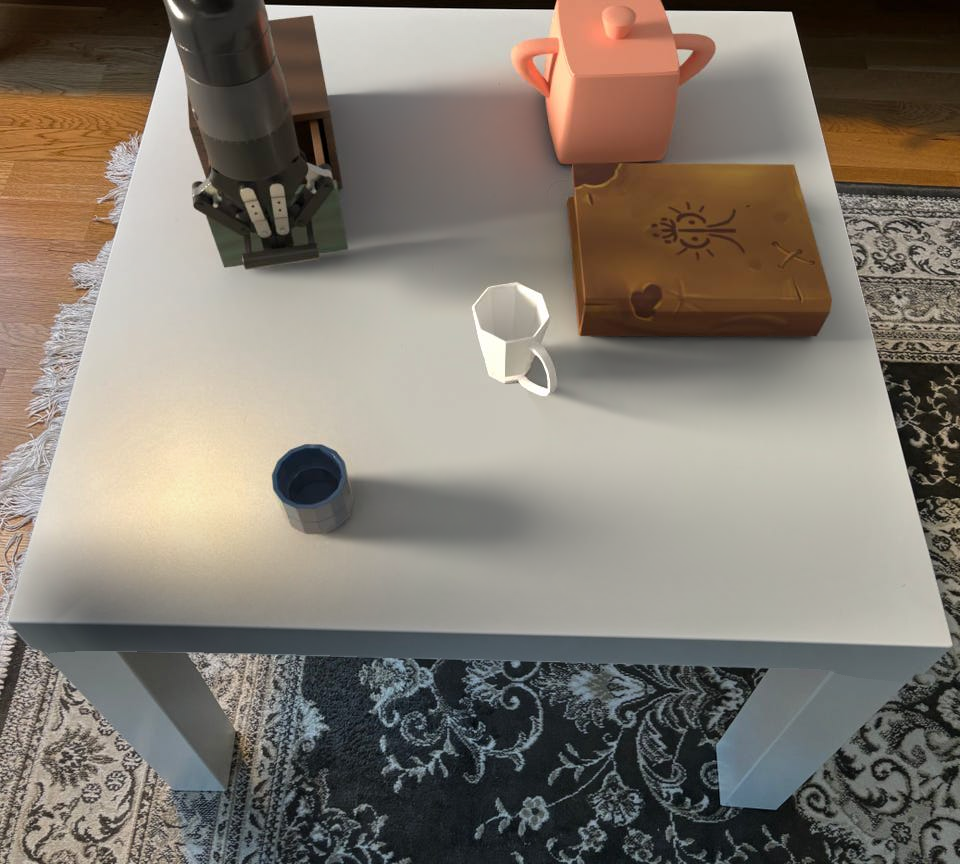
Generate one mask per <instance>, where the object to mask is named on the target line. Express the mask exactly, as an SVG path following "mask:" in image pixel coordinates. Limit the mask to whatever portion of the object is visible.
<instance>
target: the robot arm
mask: <svg viewBox="0 0 960 864" xmlns="http://www.w3.org/2000/svg"><path fill="white" fill-rule="evenodd" d="M162 2H163V3H164V7H165V11H166V14H167V18H168V23H169V26H170V30H171V31H170V32H171V34H172V37H173V40H174V44H175V47H176V50H177V53H178V56H179V59H180V62H181V65H182V69H183V73H184V78H185V85H186V92H187V91H188V95H189V99H190V102H191V110H192V113H193V115H194V118H195V119H196V120H197V123H198V127H199V130H200V133H201V136H202V139H203V142H204V145H205V148H206V151H207V154H208V158H209V161H210V165H209V169H208V172H209V177H208V178H207V179H206V178H205V180H204V181H201V180H196V181H194V182H192V184H191V196H192V198H191V199H192V206H193V209H195V210H196V211H198V212H199V213H201V214H203V215H205V217H206V216H208V217H210V218H212V219H213V220H215V221H217V222H218V223H220V224H222V225H223V226H225V227H227V228H229V229H230V230H232V231H234V232H235V233H237V234H239V235H241V236H247V235H249V234H250V232H251V233H256V234H258V235H259V236H260V238H261V241H262V245H263V248H264V250H271V249H278V248H284V247H291V246H294V240H293V236H292V232H291V229H292V228H293V227H295V226H297V227H305V226H306V225H307V224H308V223H309V221H310V220H311V219H312V217H313V216H314V215H315V213H316V212H317V211H318V209H319V208H320V207H321V205H322V204H323V203H324V201H325V200H326V199H327V197H328V196H329V195H330V193H331V192H332V191H333V189H334V183H333V177H332V171H331V167H330V165H328V164H325V163H324V164H320V165H319V166H318V167H317V166H315V165H312V164H310V163H307V157H306V155H305V154H304V153H303V152H302V151H301V150H300V149H299V147H298V142H297V137H296V133H295V128H294V123H293V118H292V113H291V109H290V104H289V97H288V93H287V89H286V85H285V80H284V76H283V72H282V69H281V67H280V64H279V61H278V59H277V56H276V52H275V49H274V44H273V39H272V35H271V30H270V25H269V20H270V19H269V16H268V12H267V8H266V4H265V1H264V0H162ZM304 179H305V182H306V184H305V185H304V187H303V188H302V190H301V191H300V192H299V194H298V195H297V197H296V198H295V199H294V201H293V202H292V206H289V207H286V202H287V201H289V200H290V199H291V198H292V197H293V195H294V194H295V192H296V191H297V189H298V188H299V186H300V185H301V183H302V182H303V180H304ZM222 193H223V194H224V195H223V194H222ZM225 195H226V196H227V197H226V196H225ZM228 197H229V198H230V199H229V198H228ZM231 199H232V200H231ZM234 201H235V202H234ZM242 206H244V207H246V208H247V209H246V208H244V207H242ZM266 206H272V207H273V213H274V222H273V219H272V220H271V219H270V216H269V213H268V210H267V207H266Z"/></svg>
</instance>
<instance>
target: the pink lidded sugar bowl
mask: <svg viewBox="0 0 960 864" xmlns="http://www.w3.org/2000/svg"><path fill="white" fill-rule="evenodd" d="M551 21H552V22H551V25H550V30H549V35H548V37H539V38H531V39H527V40H523V41H521V42H518V43H517V44H516V45H514V46H513V47H512V49H511V51H510V52H511V53H510V59H511V63H512V65H513V67H514V69H515V70H516V72H517V73H518V74H519V75H520V77H521V78H522V79H523V80H524V81H526V83H528V84H529V85H530V86H531V87H533V88H534V89H535V90H537V91H538V92H539V93H540V94H541V95H543V96H544V97H545V98H544V99H545V107H546V116H547V122H548V128H549V133H550V137H551V141H552V145H553V149H554V152H555V156H556V158H557V160H558V162H559V163H560V164H562V165H572V164H573V163H641V162H655V161H661V160H663V158H664V156H665V154H666V153H667V150H668V147H669V144H670V142H671V139H672V134H673V128H674V123H675V118H676V111H677V104H678V93H679V88H680V87H682V86H683V85H684V84H686V83H687V82H689V81H690V80H691V79H692V78H694V77H695V76H696V75H698V74H699V73H700V72H701V71H702V70H703V69H705V68H706V66H707V65H708V64H709V63H710V62H711V61H712V59H713V57H714V55H715V54H716V49H717V47H716V42H715V41H714V40H713V39H712V38H711V37H709V36H707V35H704V34H699V33H687V32H685V33H684V32H683V33H673V30H672V28H671V24H670V21H669V18H668V16H667V13H666V10H665V7H664V5H663V2H662V0H556V2H555V6H554V10H553V15H552V20H551ZM677 50H687V51H692V52H691V54H690V55H689V56H688V57H687V59H686V60H685V61H684V62H683V63H682V64H681V65H680V60H679V54H678V51H677ZM541 55H542V56H543V55H545V63H544V76H543V75H542V73H541V72H540V71H539V70H538V69H539V68H537V66H536V64H535V63H534V60H533V59H534V58H535V57H537V56H541Z"/></svg>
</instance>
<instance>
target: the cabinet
mask: <svg viewBox="0 0 960 864" xmlns="http://www.w3.org/2000/svg"><path fill="white" fill-rule="evenodd" d="M268 20H269V25H270V30H271V35H272V39H273V44H274V49H275V52H276V56H277V59H278V61H279V64H280V67H281V69H282V72H283V76H284V80H285V85H286V89H287V93H288V97H289V104H290V109H291V113H292V118H293V122H299V121H306V120H314V119H318V124H319V130H320V135H321V141H322V146H323V152H324V158H325V164H328V165H330V167H331V171H332V177H333V180H336V182H337V188H338V189H343V187H344V186H343V180H342V175H341V169H340V161H339V156H338V151H337V150H338V149H337V144H336V138H335V131H334V126H333V120H332V113H331V109H330V107H331V106H330V101H329V97H328V92H327V86H326V81H325V75H324V70H323V64H322V59H321V52H320V48H319V42H318V36H317V31H316V24H315V20H314V16H313V15H311V14H310V15H304V16H295V17H294V16H293V17H287V18H277V19H268ZM186 93H187V94H186V95H187V111H188V112H187V113H188V127H189V128H188V129H189V131H190V134H191V138H192V140H193V144H194V148H195V150H196V152H197V153H196V154H197V156H198V158H199V161H200V165H201V167H202V171H203V174H204V177H205V180H206V179H207V178H208V177H209V172H208V169H209V158H208V154H207V151H206V148H205V145H204V142H203V139H202V136H201V133H200V130H199V127H198V123H197V120H196V119H195V118H194V115H193V113H192V110H191V102H190V99H189V95H188V91H187V90H186Z"/></svg>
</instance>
